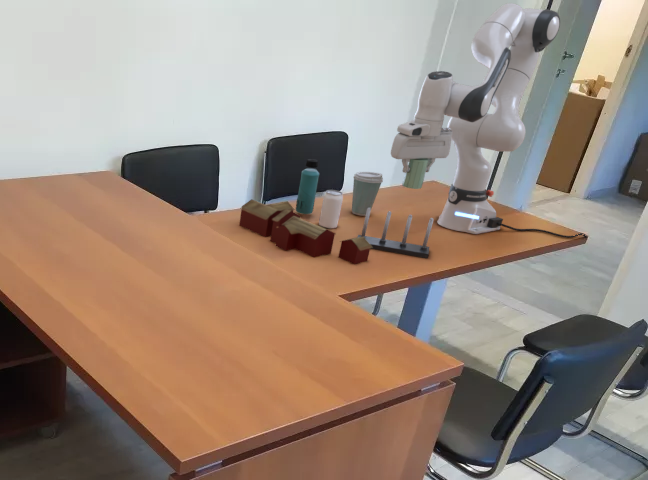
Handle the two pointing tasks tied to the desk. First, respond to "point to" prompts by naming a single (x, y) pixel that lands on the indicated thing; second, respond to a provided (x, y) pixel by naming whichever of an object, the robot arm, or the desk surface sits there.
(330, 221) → the can
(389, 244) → the dish rack
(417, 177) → the cup
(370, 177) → the disposable coffee cup
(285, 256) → the desk surface
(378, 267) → the desk surface
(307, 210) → the beverage bottle
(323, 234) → the toy houses
